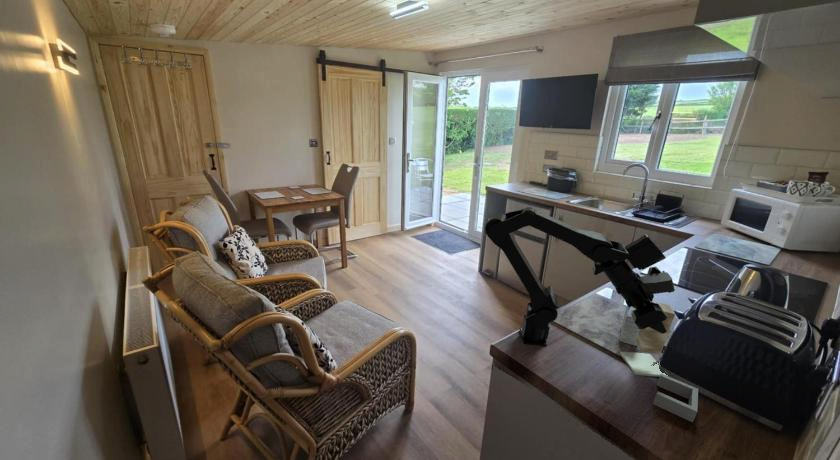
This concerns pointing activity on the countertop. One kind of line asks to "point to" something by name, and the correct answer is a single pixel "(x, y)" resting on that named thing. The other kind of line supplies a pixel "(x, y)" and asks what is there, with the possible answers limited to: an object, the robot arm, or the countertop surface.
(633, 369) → the sage pad
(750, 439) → the countertop surface
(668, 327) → the block
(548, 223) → the robot arm
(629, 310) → the medicine box
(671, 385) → the grey holder
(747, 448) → the countertop surface
